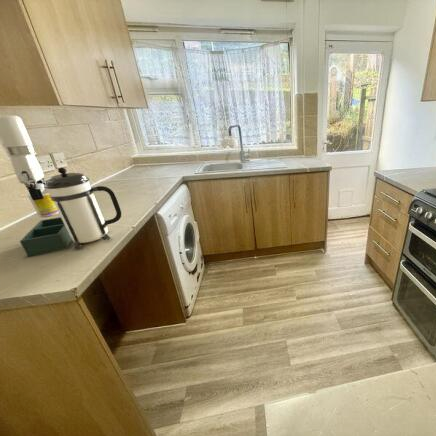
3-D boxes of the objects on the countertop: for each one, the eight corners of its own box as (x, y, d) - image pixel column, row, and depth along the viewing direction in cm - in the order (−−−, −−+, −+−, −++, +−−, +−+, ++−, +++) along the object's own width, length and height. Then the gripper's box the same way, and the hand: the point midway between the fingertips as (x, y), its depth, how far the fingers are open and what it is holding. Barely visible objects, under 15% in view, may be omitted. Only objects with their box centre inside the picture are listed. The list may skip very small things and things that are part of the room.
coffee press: (94, 250, 92) (59, 172, 80) (60, 248, 95) (20, 172, 83) (129, 229, 108) (104, 161, 95) (98, 228, 111) (70, 162, 98)
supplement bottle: (64, 212, 103) (50, 182, 97) (45, 218, 97) (29, 187, 92) (54, 211, 105) (40, 182, 100) (35, 217, 99) (19, 187, 94)
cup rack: (27, 256, 90) (19, 241, 87) (47, 233, 107) (40, 220, 104) (66, 248, 95) (59, 233, 92) (78, 228, 112) (73, 215, 109)
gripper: (17, 149, 96) (37, 192, 103) (-5, 155, 82) (20, 204, 89) (42, 147, 99) (60, 189, 106) (25, 153, 85) (46, 201, 92)
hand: (41, 196), depth 98 cm, fingers closed on supplement bottle, 6 cm apart
